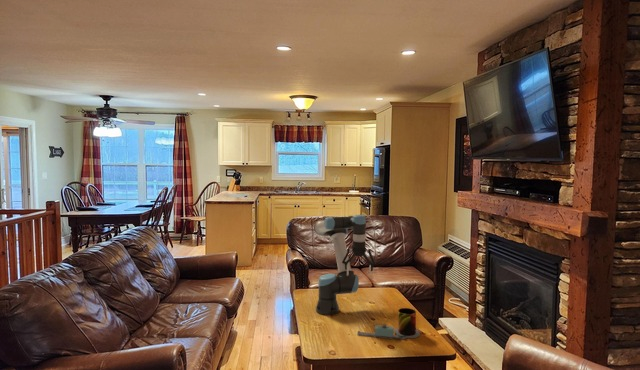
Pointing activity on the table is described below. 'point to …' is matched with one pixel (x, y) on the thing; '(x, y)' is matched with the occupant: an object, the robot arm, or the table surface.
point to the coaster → (408, 336)
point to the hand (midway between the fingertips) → (358, 275)
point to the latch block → (384, 331)
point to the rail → (380, 336)
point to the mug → (407, 321)
